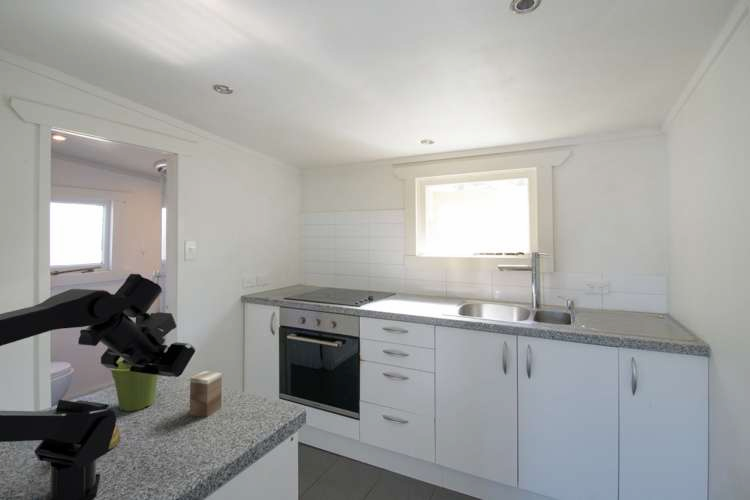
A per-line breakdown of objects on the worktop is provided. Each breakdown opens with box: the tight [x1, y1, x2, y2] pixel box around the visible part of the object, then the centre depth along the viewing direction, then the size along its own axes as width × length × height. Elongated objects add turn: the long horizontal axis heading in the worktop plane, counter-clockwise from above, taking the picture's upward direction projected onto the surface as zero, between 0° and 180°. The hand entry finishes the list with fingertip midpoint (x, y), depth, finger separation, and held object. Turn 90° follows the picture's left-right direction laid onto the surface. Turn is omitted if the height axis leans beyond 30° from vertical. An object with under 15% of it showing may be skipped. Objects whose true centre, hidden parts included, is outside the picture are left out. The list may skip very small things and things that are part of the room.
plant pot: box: [108, 358, 159, 412], centre depth 89 cm, size 12×12×11 cm
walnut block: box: [189, 370, 223, 418], centre depth 87 cm, size 5×5×9 cm
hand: (171, 374), depth 77 cm, fingers closed
